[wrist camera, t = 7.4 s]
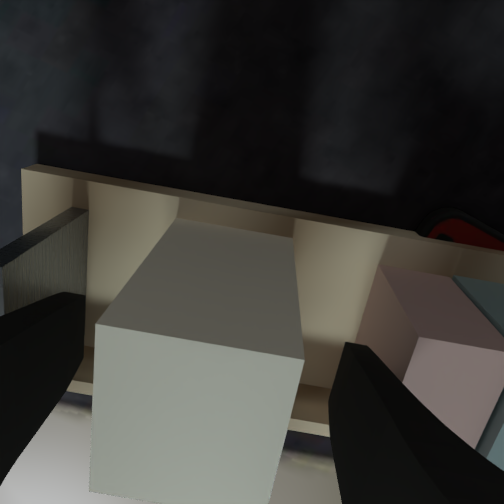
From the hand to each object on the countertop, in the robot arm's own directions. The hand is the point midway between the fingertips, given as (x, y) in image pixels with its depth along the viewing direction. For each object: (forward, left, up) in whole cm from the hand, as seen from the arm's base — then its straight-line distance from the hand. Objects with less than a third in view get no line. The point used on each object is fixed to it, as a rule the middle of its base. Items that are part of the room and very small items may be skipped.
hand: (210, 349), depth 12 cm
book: (0, 0, -4) cm, 4 cm away
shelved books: (-8, +1, -5) cm, 9 cm away
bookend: (+5, +1, -5) cm, 7 cm away
